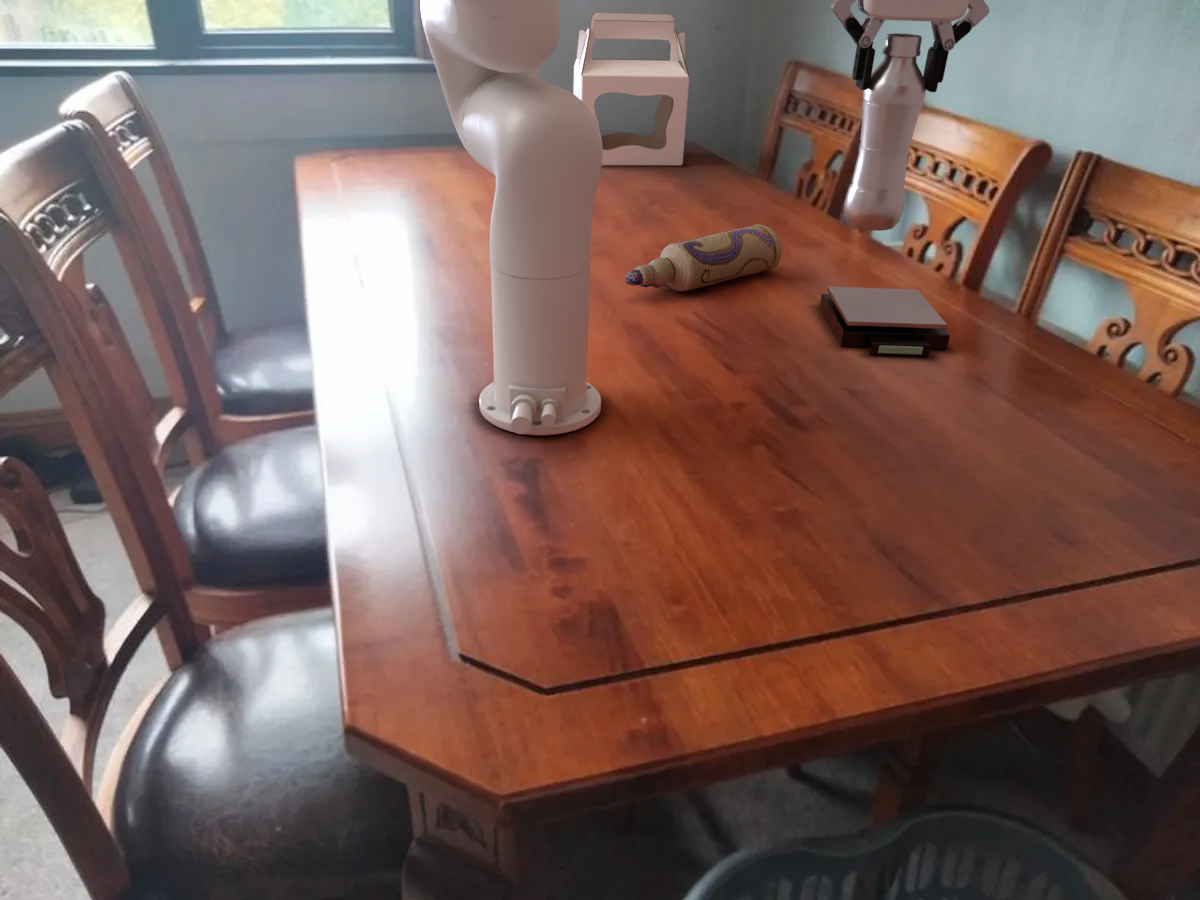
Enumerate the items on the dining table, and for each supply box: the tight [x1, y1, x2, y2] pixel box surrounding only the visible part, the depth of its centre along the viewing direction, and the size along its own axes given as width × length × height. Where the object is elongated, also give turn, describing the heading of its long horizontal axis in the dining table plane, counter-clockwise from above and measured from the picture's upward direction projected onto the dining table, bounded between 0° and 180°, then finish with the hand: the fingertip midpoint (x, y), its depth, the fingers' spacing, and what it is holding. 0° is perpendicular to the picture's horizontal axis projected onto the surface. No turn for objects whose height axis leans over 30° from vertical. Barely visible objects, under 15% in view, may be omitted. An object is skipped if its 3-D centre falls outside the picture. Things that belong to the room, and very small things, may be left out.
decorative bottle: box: [624, 223, 783, 292], centre depth 127 cm, size 26×8×7 cm, turn 125°
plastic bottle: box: [843, 32, 927, 232], centre depth 98 cm, size 6×7×20 cm
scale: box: [819, 285, 951, 358], centre depth 115 cm, size 16×13×3 cm
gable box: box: [572, 12, 690, 167], centre depth 187 cm, size 22×13×28 cm, turn 98°
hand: (895, 87), depth 95 cm, fingers closed on plastic bottle, 6 cm apart
